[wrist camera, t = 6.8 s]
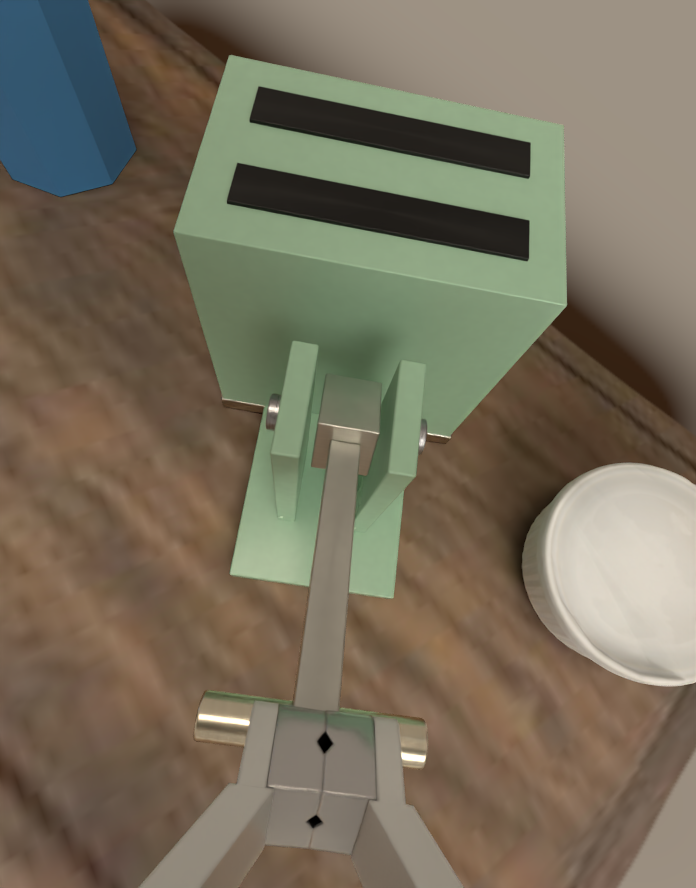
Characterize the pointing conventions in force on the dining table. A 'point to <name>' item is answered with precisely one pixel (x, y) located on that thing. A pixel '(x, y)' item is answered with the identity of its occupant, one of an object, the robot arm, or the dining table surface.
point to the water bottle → (58, 99)
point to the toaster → (370, 237)
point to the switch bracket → (300, 486)
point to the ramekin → (620, 571)
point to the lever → (324, 577)
